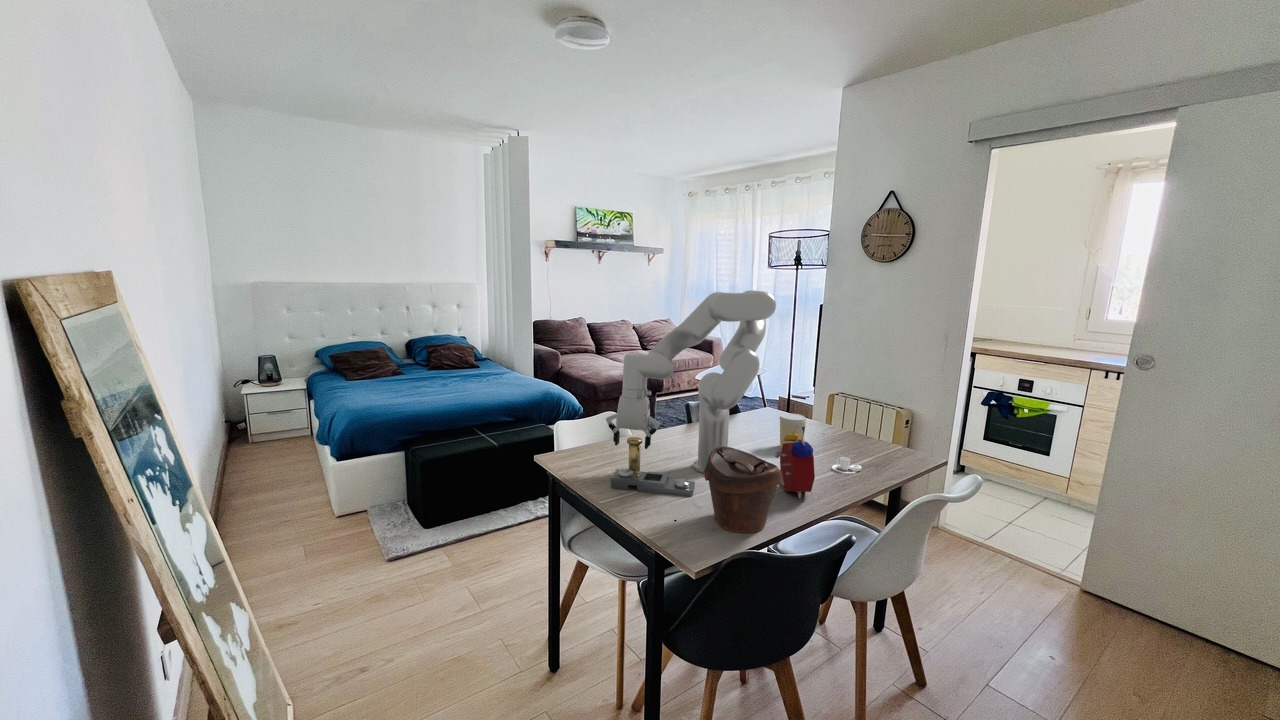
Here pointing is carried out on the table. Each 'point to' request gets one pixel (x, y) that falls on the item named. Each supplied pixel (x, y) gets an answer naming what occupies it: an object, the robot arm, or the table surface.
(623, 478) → the grey bolted base plate
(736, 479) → the brown flower pot
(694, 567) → the table surface
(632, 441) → the pin
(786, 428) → the coffee cup
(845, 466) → the teacup and saucer
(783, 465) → the alarm clock
